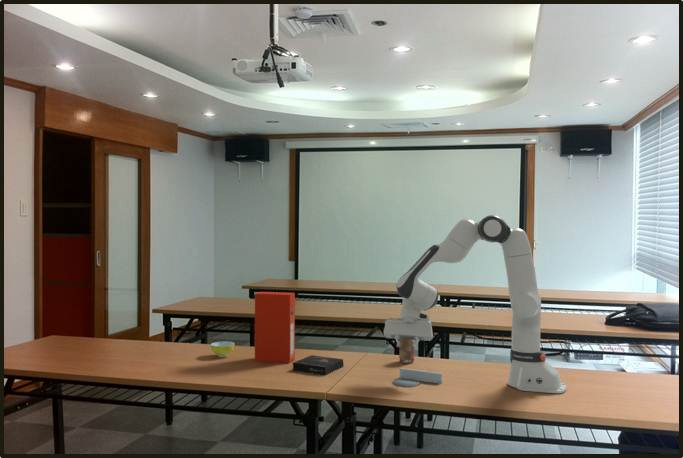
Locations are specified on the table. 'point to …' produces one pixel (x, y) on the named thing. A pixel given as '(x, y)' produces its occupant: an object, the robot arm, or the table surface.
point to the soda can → (407, 360)
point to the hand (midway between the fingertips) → (405, 346)
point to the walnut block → (406, 348)
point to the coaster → (406, 382)
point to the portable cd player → (318, 365)
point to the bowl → (222, 348)
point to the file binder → (275, 327)
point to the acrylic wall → (421, 375)
